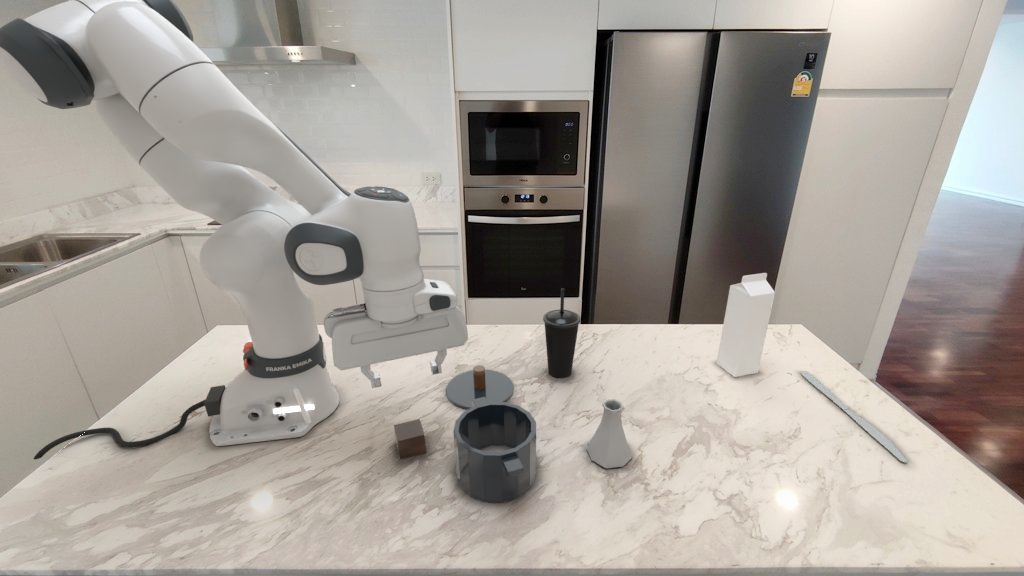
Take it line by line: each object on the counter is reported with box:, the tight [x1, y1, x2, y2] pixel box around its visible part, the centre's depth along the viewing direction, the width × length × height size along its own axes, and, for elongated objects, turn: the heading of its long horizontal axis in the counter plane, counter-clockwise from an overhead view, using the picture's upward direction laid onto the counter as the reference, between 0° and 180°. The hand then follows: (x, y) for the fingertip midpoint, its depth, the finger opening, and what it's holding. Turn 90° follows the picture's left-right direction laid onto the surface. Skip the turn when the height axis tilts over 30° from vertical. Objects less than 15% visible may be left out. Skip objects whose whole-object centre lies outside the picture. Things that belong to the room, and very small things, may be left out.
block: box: [393, 418, 427, 460], centre depth 81 cm, size 4×4×4 cm
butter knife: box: [800, 370, 908, 464], centre depth 90 cm, size 1×27×3 cm
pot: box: [452, 397, 537, 504], centre depth 76 cm, size 13×18×9 cm
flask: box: [586, 398, 633, 469], centre depth 79 cm, size 7×7×10 cm
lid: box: [445, 364, 514, 410], centre depth 97 cm, size 14×14×6 cm
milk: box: [716, 272, 776, 378], centre depth 101 cm, size 6×6×22 cm
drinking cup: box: [542, 287, 582, 380], centre depth 100 cm, size 8×8×20 cm
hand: (407, 378), depth 76 cm, fingers open, 8 cm apart
